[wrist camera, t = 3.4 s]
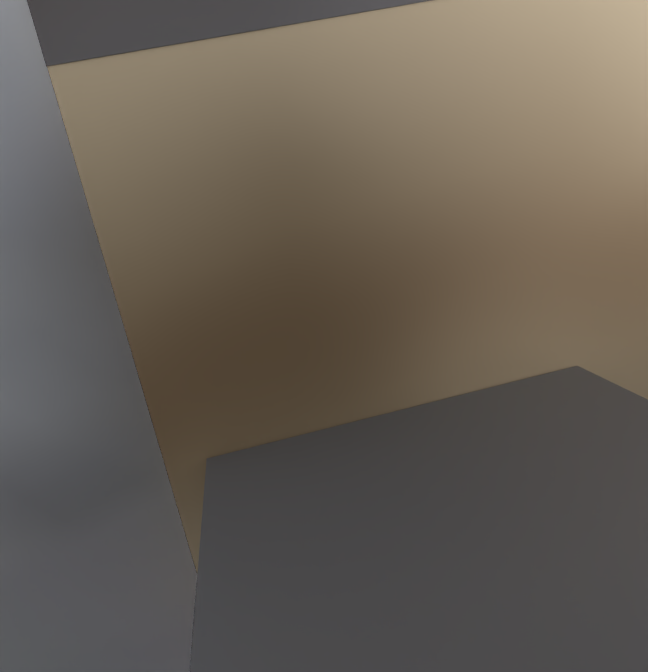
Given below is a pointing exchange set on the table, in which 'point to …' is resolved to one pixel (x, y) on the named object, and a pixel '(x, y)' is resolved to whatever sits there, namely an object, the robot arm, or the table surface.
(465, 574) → the box
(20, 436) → the table surface
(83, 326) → the table surface
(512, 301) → the board
